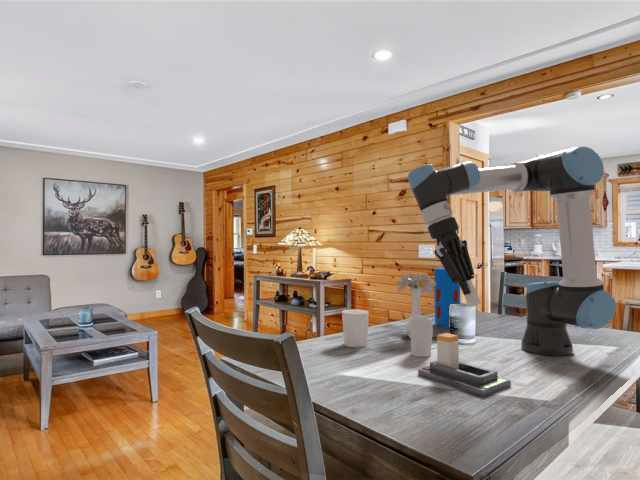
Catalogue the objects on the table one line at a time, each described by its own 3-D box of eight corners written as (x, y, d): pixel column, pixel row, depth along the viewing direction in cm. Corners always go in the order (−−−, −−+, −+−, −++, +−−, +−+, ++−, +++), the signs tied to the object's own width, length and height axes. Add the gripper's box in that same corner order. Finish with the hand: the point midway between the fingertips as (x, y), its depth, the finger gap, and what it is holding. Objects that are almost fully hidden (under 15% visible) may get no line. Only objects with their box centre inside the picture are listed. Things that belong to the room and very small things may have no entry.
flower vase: (440, 333, 162) (439, 271, 162) (424, 343, 146) (423, 274, 146) (409, 330, 169) (408, 270, 169) (390, 339, 154) (390, 273, 154)
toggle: (437, 368, 112) (437, 334, 112) (446, 366, 114) (446, 332, 114) (449, 372, 109) (449, 337, 109) (458, 369, 111) (458, 335, 111)
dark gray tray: (418, 374, 112) (418, 362, 112) (445, 366, 119) (445, 354, 119) (483, 396, 96) (483, 382, 96) (510, 385, 103) (510, 372, 103)
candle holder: (338, 346, 144) (338, 313, 144) (347, 340, 153) (346, 308, 153) (365, 349, 140) (364, 314, 140) (372, 342, 149) (371, 310, 149)
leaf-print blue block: (447, 329, 170) (446, 269, 170) (429, 324, 180) (428, 268, 180) (466, 326, 175) (465, 268, 175) (447, 322, 185) (447, 267, 185)
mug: (423, 358, 128) (423, 320, 128) (406, 354, 133) (405, 318, 133) (441, 352, 134) (440, 316, 134) (424, 348, 139) (423, 314, 139)
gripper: (438, 219, 101) (475, 309, 98) (464, 212, 109) (499, 295, 106) (415, 229, 106) (449, 315, 103) (441, 222, 115) (474, 301, 112)
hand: (474, 305), depth 105 cm, fingers closed
